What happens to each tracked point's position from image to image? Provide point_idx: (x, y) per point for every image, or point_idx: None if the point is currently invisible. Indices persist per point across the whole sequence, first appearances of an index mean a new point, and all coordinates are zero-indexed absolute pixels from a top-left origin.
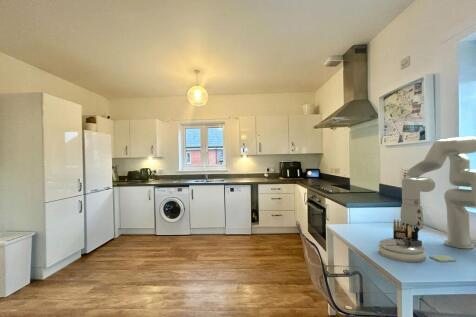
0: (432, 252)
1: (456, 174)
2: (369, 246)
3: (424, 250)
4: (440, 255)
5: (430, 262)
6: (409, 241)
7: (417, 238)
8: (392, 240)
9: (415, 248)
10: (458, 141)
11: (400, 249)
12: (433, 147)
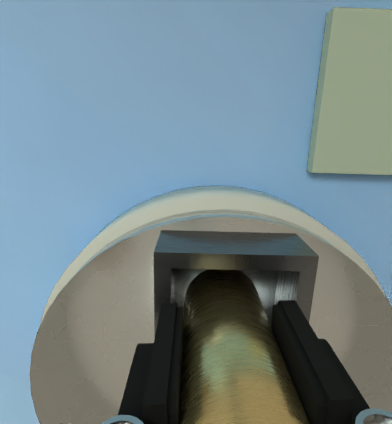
0: (199, 21)
1: None
2: (13, 415)
3: (317, 224)
4: (329, 58)
5: (385, 245)
6: None
7: (295, 310)
8: (74, 383)
9: (344, 352)
10: None
11: None
12: None
